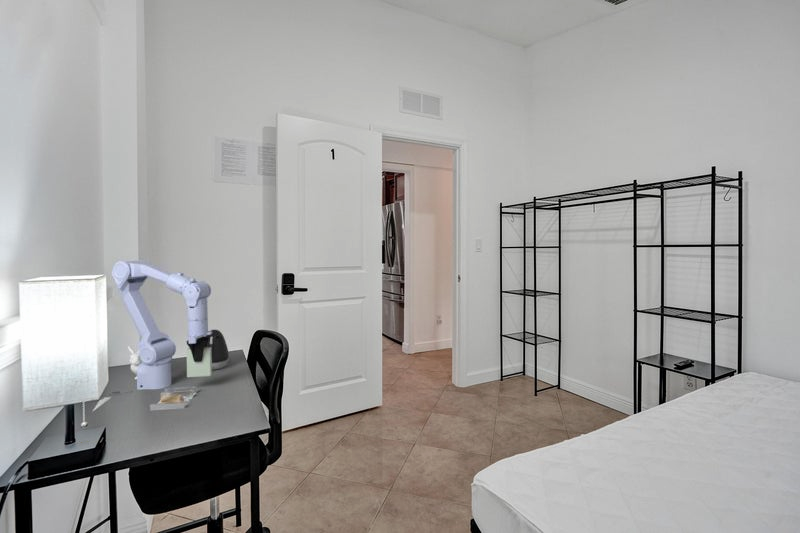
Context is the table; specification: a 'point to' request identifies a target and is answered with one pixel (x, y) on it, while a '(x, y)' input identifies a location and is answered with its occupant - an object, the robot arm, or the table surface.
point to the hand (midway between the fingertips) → (199, 360)
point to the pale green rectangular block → (199, 364)
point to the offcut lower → (173, 402)
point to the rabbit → (134, 360)
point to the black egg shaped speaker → (218, 349)
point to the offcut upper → (171, 398)
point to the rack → (184, 391)
